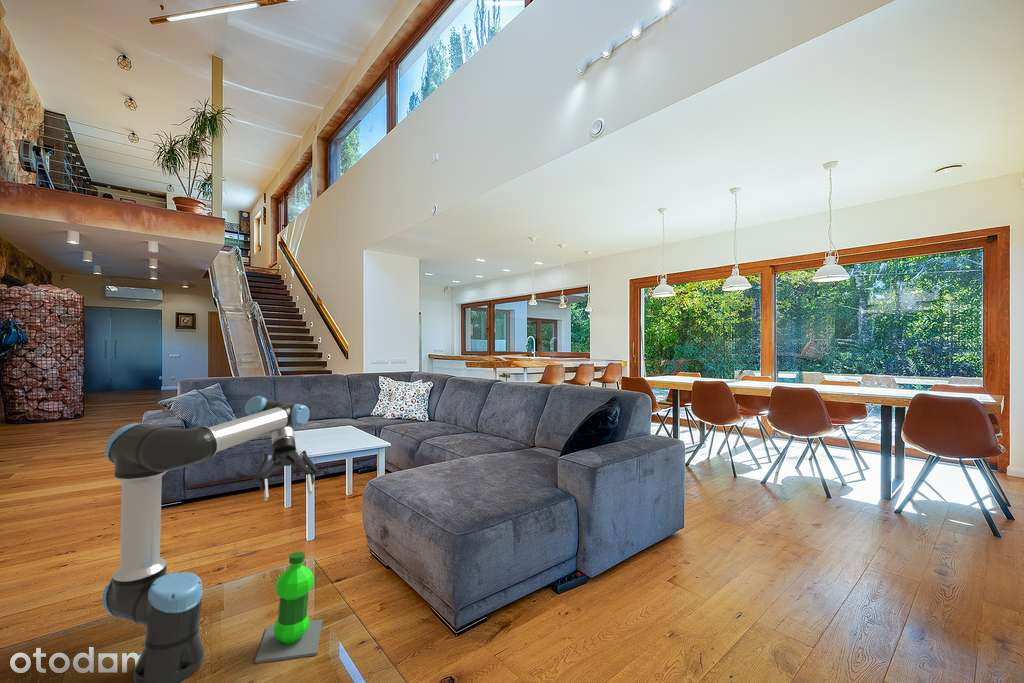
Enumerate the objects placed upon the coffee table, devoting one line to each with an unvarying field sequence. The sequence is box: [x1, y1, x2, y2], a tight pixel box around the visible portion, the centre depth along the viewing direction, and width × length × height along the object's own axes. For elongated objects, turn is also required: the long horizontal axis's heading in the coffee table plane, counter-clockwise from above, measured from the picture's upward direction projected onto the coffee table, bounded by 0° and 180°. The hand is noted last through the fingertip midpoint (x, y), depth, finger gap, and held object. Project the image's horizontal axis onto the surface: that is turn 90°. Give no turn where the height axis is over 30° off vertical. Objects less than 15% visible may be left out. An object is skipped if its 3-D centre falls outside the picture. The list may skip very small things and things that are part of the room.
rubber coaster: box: [254, 618, 324, 664], centre depth 132 cm, size 16×16×1 cm
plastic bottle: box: [273, 551, 315, 644], centre depth 133 cm, size 10×10×25 cm
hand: (289, 495), depth 149 cm, fingers open, 13 cm apart
